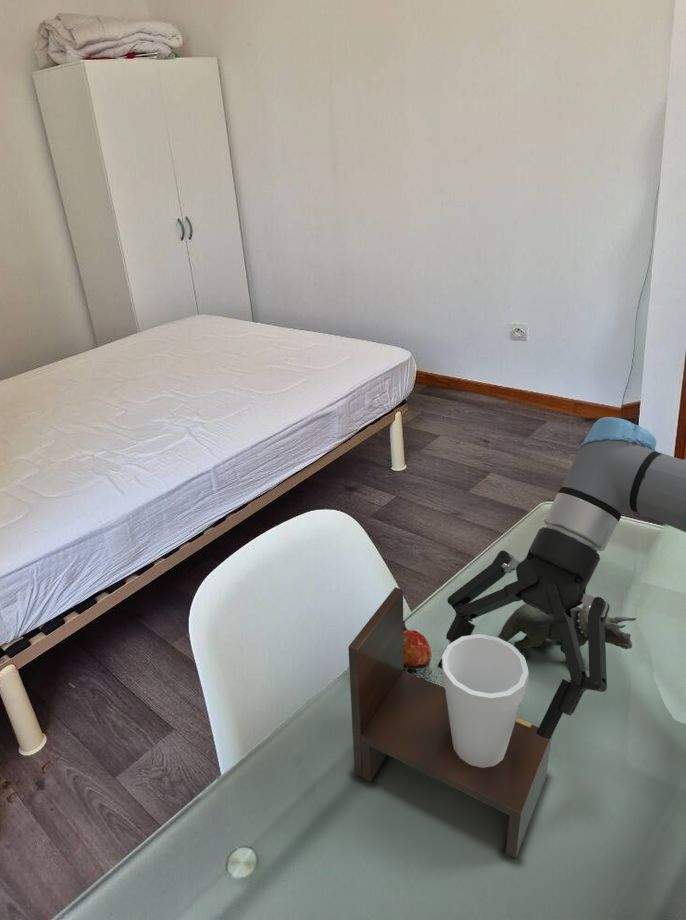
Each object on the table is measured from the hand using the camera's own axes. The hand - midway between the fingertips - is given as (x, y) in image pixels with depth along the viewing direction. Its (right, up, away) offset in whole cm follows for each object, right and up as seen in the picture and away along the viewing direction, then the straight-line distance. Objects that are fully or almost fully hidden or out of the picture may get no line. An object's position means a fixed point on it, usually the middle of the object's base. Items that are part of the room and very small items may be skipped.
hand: (490, 701), depth 80 cm
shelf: (-3, -13, +8) cm, 15 cm away
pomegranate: (-7, -5, +24) cm, 25 cm away
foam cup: (-1, -6, +3) cm, 7 cm away
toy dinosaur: (+15, -3, +26) cm, 30 cm away
